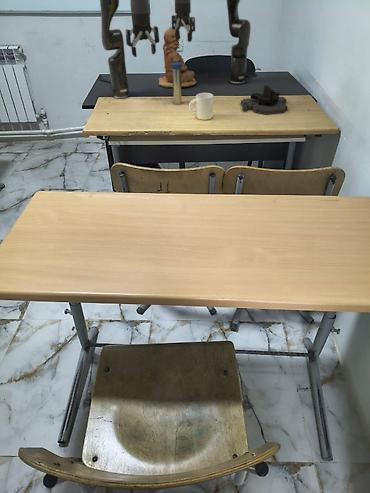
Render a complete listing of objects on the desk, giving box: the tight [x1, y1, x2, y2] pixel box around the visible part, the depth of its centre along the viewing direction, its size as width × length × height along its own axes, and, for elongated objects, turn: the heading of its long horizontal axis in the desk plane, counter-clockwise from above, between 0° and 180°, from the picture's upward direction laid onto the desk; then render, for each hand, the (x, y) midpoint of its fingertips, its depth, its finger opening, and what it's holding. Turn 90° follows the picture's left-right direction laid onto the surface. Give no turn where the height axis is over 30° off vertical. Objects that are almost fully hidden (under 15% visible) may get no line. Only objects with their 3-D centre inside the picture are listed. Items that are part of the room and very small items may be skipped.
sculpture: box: [157, 26, 198, 89], centre depth 214 cm, size 27×24×30 cm
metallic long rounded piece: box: [172, 69, 183, 105], centre depth 189 cm, size 4×4×19 cm
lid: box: [171, 62, 182, 69], centre depth 183 cm, size 5×5×2 cm
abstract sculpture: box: [240, 84, 289, 115], centre depth 183 cm, size 25×9×20 cm
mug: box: [188, 92, 214, 121], centre depth 174 cm, size 12×8×10 cm
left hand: (144, 55), depth 157 cm, fingers open, 8 cm apart
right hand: (183, 40), depth 179 cm, fingers open, 8 cm apart
